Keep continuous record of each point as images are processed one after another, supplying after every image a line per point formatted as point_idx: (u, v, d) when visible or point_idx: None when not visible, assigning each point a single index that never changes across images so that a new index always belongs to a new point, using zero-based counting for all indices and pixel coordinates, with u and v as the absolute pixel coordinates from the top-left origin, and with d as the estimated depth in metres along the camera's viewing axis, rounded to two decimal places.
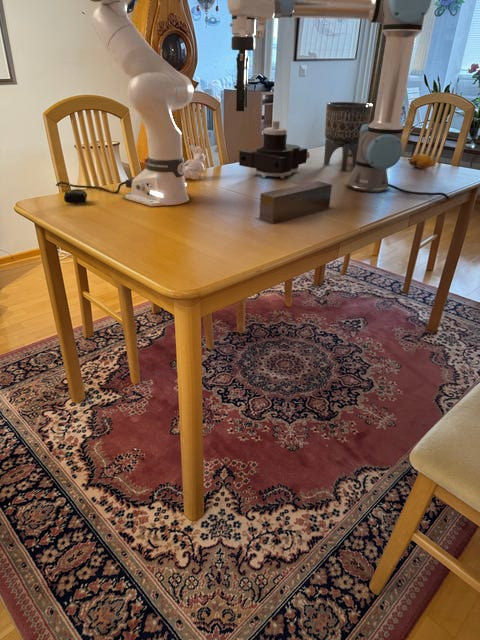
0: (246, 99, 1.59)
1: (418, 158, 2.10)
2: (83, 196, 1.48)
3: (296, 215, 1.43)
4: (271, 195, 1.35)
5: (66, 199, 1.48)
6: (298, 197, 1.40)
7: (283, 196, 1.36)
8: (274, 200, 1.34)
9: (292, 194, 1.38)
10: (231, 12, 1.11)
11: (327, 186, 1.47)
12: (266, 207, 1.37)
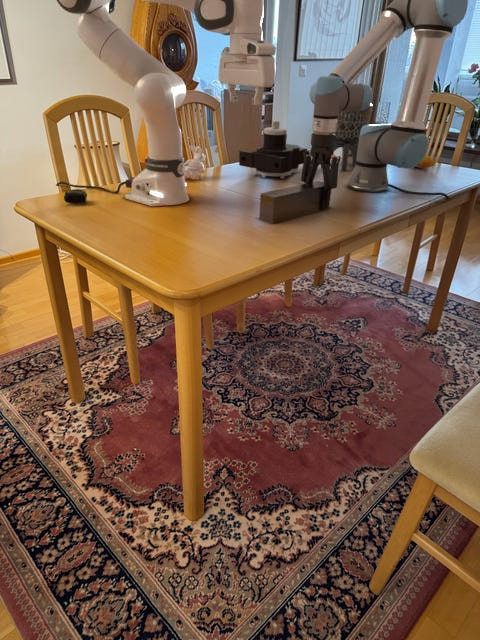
0: None
1: None
2: (83, 196, 1.48)
3: (296, 215, 1.43)
4: (271, 195, 1.35)
5: (66, 199, 1.48)
6: (298, 197, 1.40)
7: (283, 196, 1.36)
8: (274, 200, 1.34)
9: (292, 194, 1.38)
10: (266, 86, 1.20)
11: None
12: (267, 207, 1.37)
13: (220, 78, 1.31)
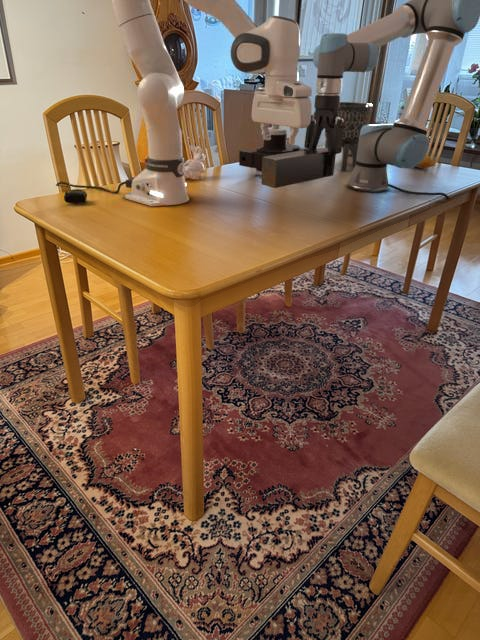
0: None
1: None
2: (83, 196, 1.48)
3: (299, 181, 1.38)
4: (273, 158, 1.30)
5: (66, 199, 1.48)
6: (302, 161, 1.35)
7: (286, 159, 1.30)
8: (277, 163, 1.29)
9: (295, 158, 1.33)
10: (302, 127, 1.20)
11: None
12: (269, 171, 1.31)
13: (253, 117, 1.31)
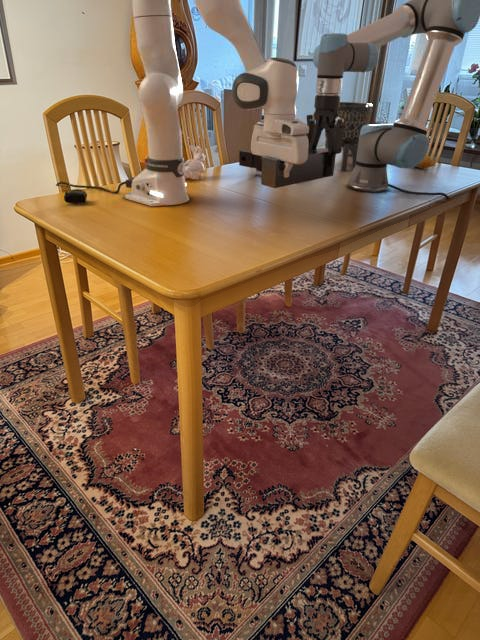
0: None
1: None
2: (83, 196, 1.48)
3: (299, 181, 1.38)
4: (273, 158, 1.30)
5: (66, 199, 1.48)
6: None
7: None
8: (277, 163, 1.29)
9: None
10: (299, 163, 1.25)
11: None
12: (268, 171, 1.32)
13: (253, 150, 1.36)
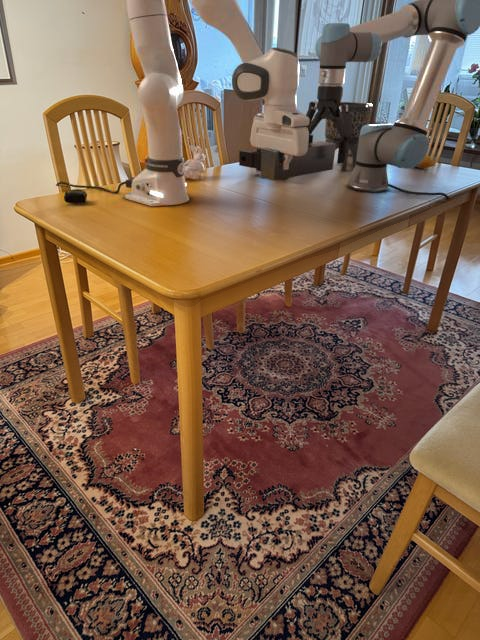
0: None
1: None
2: (83, 196, 1.48)
3: (298, 174, 1.37)
4: (273, 150, 1.29)
5: (66, 199, 1.48)
6: None
7: None
8: (276, 155, 1.28)
9: None
10: (299, 155, 1.24)
11: (331, 145, 1.41)
12: (268, 163, 1.31)
13: (252, 142, 1.35)
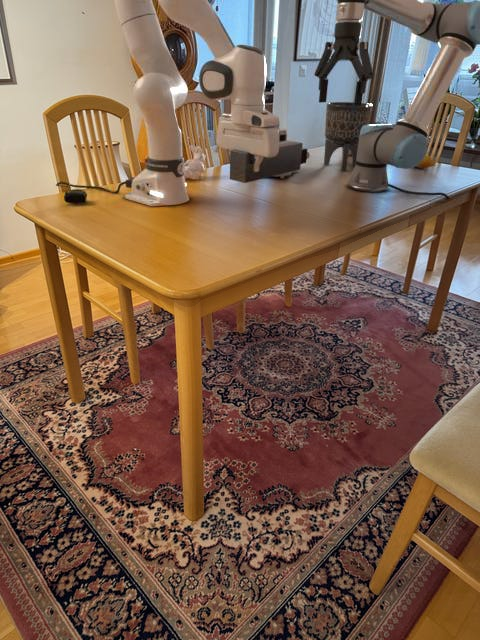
0: (326, 93, 1.44)
1: None
2: (83, 196, 1.48)
3: (268, 175, 1.33)
4: (242, 151, 1.24)
5: (66, 199, 1.48)
6: None
7: None
8: (246, 156, 1.23)
9: None
10: (271, 156, 1.20)
11: (298, 145, 1.38)
12: (238, 165, 1.25)
13: (219, 143, 1.29)
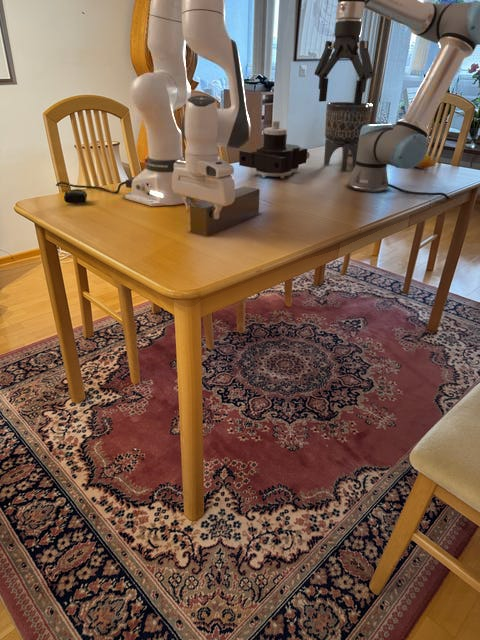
0: (326, 92, 1.43)
1: None
2: (83, 196, 1.48)
3: (229, 224, 1.34)
4: (202, 206, 1.24)
5: (66, 199, 1.48)
6: (229, 205, 1.31)
7: None
8: (207, 211, 1.23)
9: None
10: (227, 205, 1.20)
11: (255, 191, 1.40)
12: (198, 218, 1.26)
13: (174, 189, 1.28)
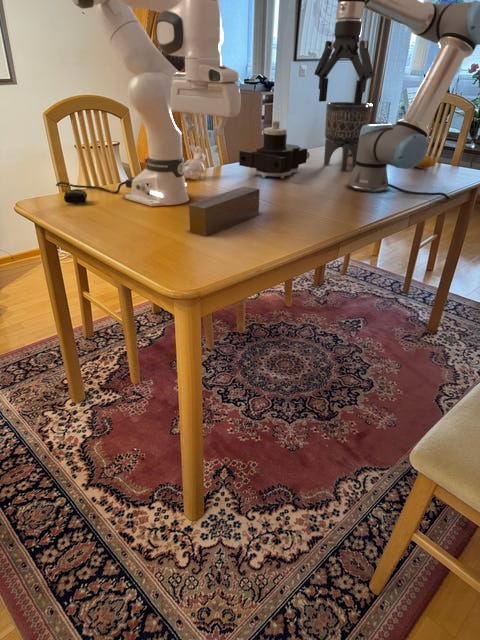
0: (326, 92, 1.43)
1: None
2: (83, 196, 1.48)
3: (228, 224, 1.34)
4: (201, 205, 1.24)
5: (66, 199, 1.48)
6: (229, 205, 1.31)
7: (214, 206, 1.26)
8: (206, 211, 1.23)
9: (223, 203, 1.28)
10: (232, 115, 1.09)
11: (255, 191, 1.40)
12: (197, 218, 1.26)
13: (173, 106, 1.17)
